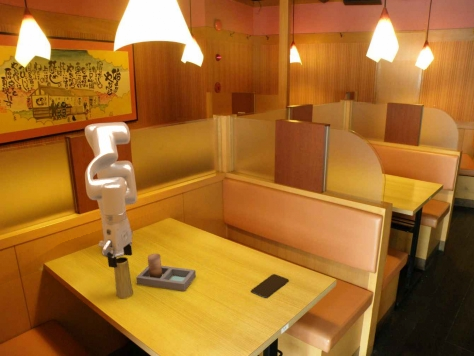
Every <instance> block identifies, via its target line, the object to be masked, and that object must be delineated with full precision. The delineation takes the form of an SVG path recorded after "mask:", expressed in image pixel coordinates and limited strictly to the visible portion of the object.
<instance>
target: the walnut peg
mask: <svg viewBox="0 0 474 356" xmlns="http://www.w3.org/2000/svg"><path fill="white" fill-rule="evenodd" d="M147 265H148V266H147V267H149V276H148V277H153V278H161V277H162V276H163V274H162V268H161V266H162V258H161V254H159V253H151V254H149V255H148V256H147Z"/></svg>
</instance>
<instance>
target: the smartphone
mask: <svg viewBox="0 0 474 356" xmlns="http://www.w3.org/2000/svg"><path fill="white" fill-rule="evenodd" d="M288 282H290V280H289V278H287V277H283V276H281V275H278V274H276V273H274V274H273V273H272V274H271V275H269V276H268V277H267V278H265V279H264V280H263V281H261V282H260V283H259V284H257V285H256V286H254V287H253V288H252V289H251V290H250V293H251V294H254V295H257V296H259V297H261V298H263V299H268V298H270V297H271V296H273V295H274V294H275V293H276V292H277V291H279V290H280V289H282V288H283V287H284V286H286V284H287V283H288Z"/></svg>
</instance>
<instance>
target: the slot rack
mask: <svg viewBox="0 0 474 356" xmlns="http://www.w3.org/2000/svg"><path fill="white" fill-rule="evenodd" d="M161 268H162V277H161V278H153V277H149V267H148V266H146V267H145V268H144V269H143V270H142V271H140V273H139V274H138V275H136V277H135V278H136V285H140V286H147V287H154V288H161V289H167V290H175V291H181V292H185V291H186V290H187V289H188V287H189V286H190V285H191V284H192V282H193V281H194V280H195V278H196V274H197V273H196V269H190V268H189V269H188V268H182V267H174V266H169V265H168V266H166V265H161Z"/></svg>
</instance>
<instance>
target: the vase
mask: <svg viewBox="0 0 474 356" xmlns="http://www.w3.org/2000/svg"><path fill="white" fill-rule="evenodd" d="M116 259H117V267H116V268H114V267H113V269H114V280H115V290H116V297H117V298H118V299H121V300H122V299H128V298H130V297H131V296H132V295H134V291H133V285H132V279H131V277H132V276H131V273H130V265H129V258H128V257H125V256H118V257H116Z"/></svg>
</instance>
